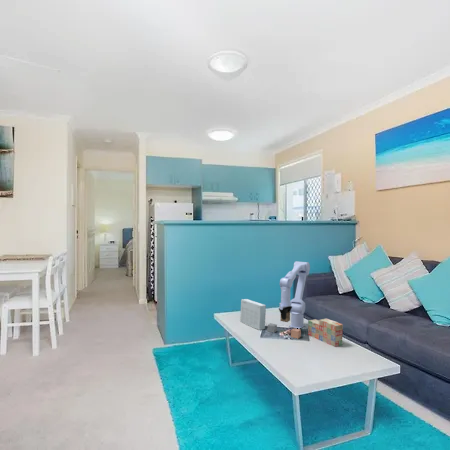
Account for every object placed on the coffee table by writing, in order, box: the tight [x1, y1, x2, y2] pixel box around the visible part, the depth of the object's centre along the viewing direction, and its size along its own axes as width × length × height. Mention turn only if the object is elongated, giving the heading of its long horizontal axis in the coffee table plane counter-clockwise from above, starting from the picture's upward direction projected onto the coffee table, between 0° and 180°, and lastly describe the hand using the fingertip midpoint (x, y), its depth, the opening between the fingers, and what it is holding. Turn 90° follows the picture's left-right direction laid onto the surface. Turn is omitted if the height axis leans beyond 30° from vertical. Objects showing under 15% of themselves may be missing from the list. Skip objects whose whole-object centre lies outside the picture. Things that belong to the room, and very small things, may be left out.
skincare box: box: [239, 298, 267, 331], centre depth 215 cm, size 21×5×16 cm, turn 34°
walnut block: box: [280, 311, 291, 323], centre depth 200 cm, size 4×4×6 cm
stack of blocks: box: [307, 318, 344, 347], centre depth 190 cm, size 21×6×12 cm, turn 30°
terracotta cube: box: [290, 327, 302, 340], centre depth 194 cm, size 4×4×4 cm
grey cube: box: [266, 323, 278, 334], centre depth 203 cm, size 4×4×4 cm
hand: (285, 318), depth 200 cm, fingers closed on walnut block, 4 cm apart
